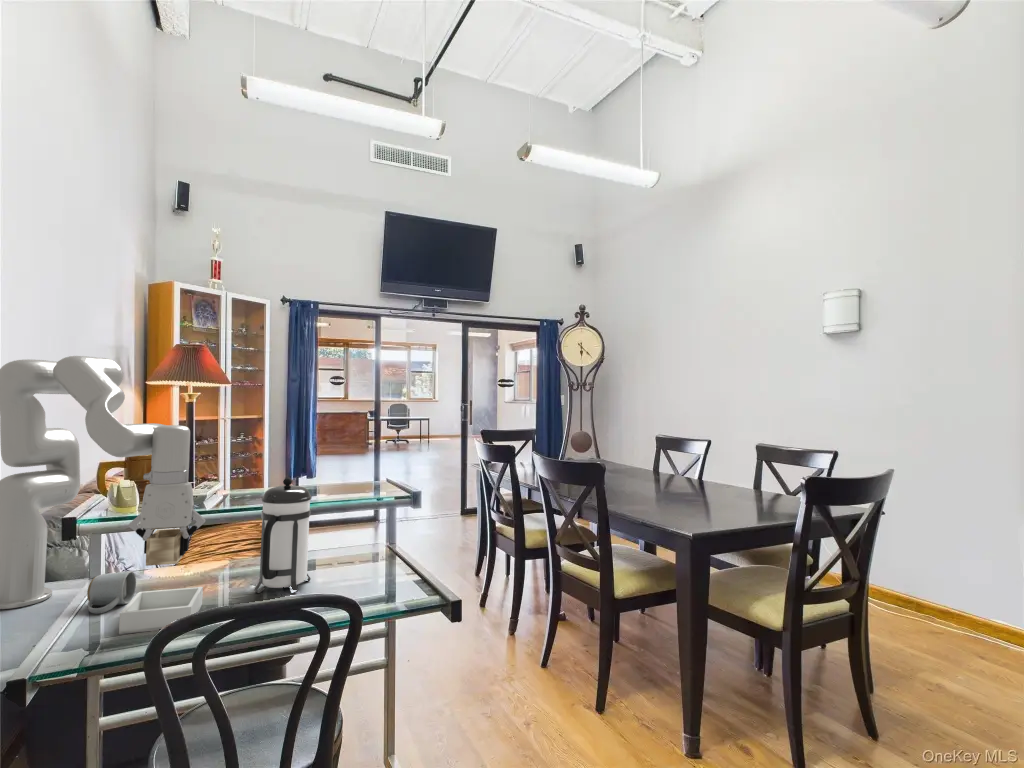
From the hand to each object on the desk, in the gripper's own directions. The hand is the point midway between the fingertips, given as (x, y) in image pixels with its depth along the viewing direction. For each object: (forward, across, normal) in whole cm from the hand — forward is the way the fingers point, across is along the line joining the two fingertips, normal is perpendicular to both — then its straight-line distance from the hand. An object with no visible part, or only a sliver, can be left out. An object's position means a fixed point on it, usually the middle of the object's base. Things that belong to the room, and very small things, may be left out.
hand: (166, 554), depth 127 cm
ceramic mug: (+15, -14, +12) cm, 24 cm away
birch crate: (+1, 0, 0) cm, 1 cm away
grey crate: (+15, 0, 0) cm, 15 cm away
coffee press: (+15, +25, +14) cm, 32 cm away
